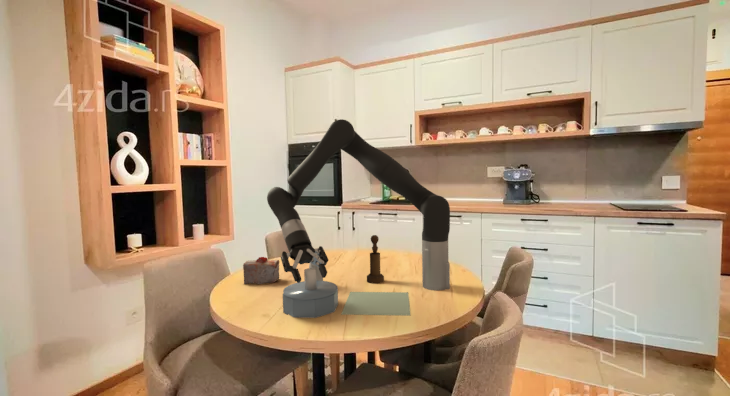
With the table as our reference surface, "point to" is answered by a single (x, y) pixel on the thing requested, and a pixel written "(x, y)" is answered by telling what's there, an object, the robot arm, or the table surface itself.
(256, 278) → the food item
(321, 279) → the salt shaker
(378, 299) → the rubber mat
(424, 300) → the table surface
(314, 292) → the food cover
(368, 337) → the table surface
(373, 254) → the dark brown tall piece
